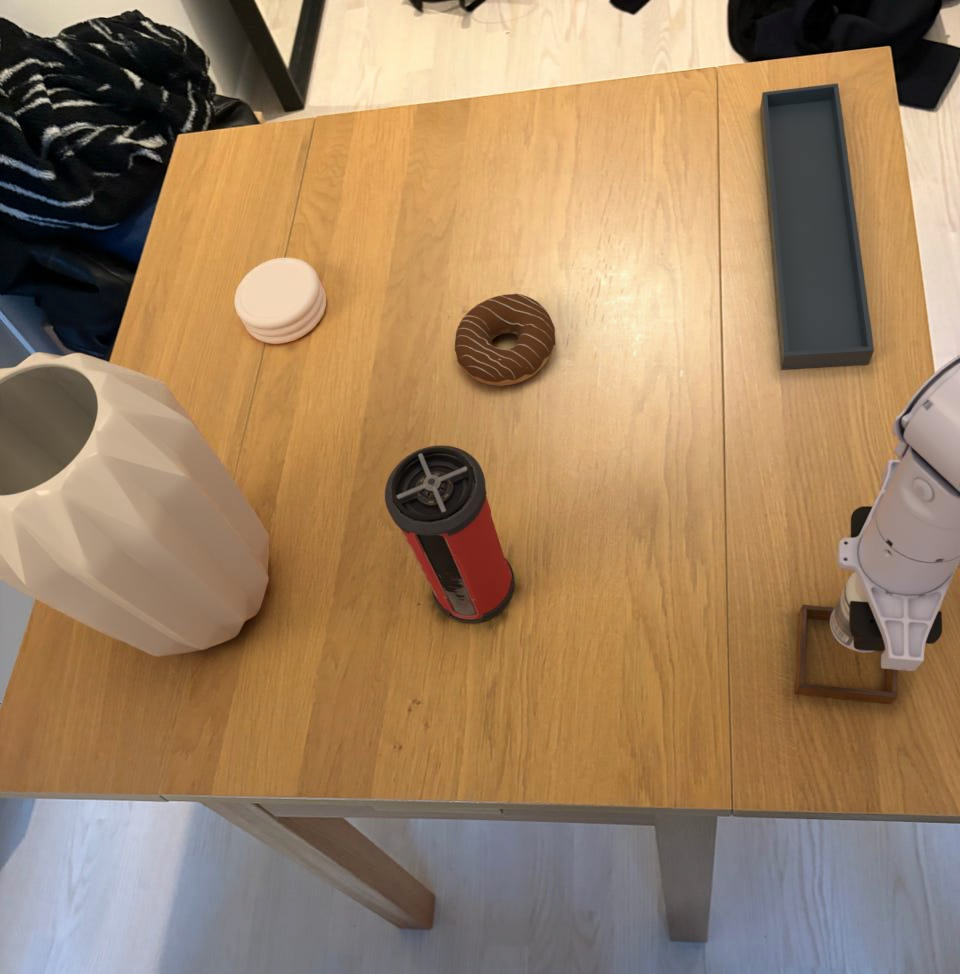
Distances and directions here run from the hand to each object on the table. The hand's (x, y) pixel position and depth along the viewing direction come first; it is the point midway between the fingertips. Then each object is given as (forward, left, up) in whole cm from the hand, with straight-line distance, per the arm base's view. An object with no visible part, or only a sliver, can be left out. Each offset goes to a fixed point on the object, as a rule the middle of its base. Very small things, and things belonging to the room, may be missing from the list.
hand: (869, 612), depth 61 cm
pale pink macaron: (+43, -56, -8) cm, 71 cm away
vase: (+55, -22, -8) cm, 60 cm away
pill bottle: (0, 0, -3) cm, 3 cm away
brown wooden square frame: (0, +1, -8) cm, 8 cm away
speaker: (+29, -15, -8) cm, 34 cm away
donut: (+20, -41, -8) cm, 46 cm away
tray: (-14, -46, -8) cm, 49 cm away
